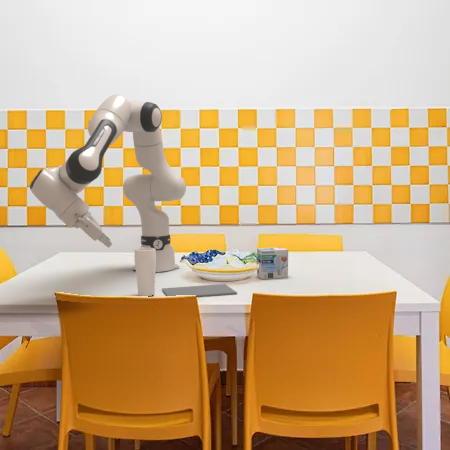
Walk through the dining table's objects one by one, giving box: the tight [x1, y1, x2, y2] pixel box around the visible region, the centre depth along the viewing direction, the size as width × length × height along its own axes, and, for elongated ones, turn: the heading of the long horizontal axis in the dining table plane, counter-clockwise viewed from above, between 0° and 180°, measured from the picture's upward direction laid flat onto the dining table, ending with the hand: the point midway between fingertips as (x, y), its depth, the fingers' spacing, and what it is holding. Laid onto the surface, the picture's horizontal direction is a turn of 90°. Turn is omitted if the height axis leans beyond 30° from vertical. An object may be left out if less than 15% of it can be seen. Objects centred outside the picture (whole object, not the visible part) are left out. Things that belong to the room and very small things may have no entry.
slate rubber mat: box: [161, 283, 238, 298], centre depth 171 cm, size 14×22×1 cm, turn 106°
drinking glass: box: [134, 247, 157, 297], centre depth 167 cm, size 7×7×15 cm
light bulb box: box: [256, 246, 289, 280], centre depth 195 cm, size 11×7×11 cm, turn 101°
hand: (109, 243), depth 163 cm, fingers open, 8 cm apart
